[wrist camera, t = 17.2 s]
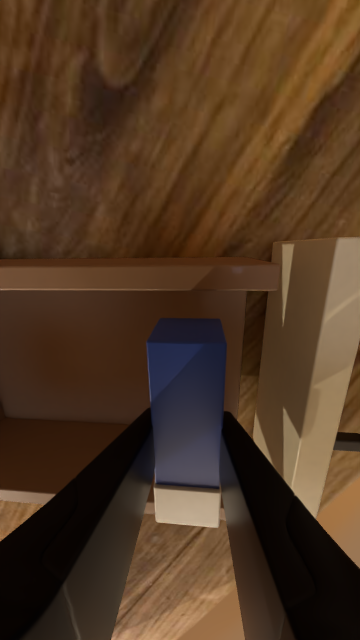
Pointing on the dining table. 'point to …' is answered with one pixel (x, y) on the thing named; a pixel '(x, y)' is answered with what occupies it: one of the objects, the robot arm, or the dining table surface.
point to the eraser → (187, 418)
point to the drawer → (131, 356)
